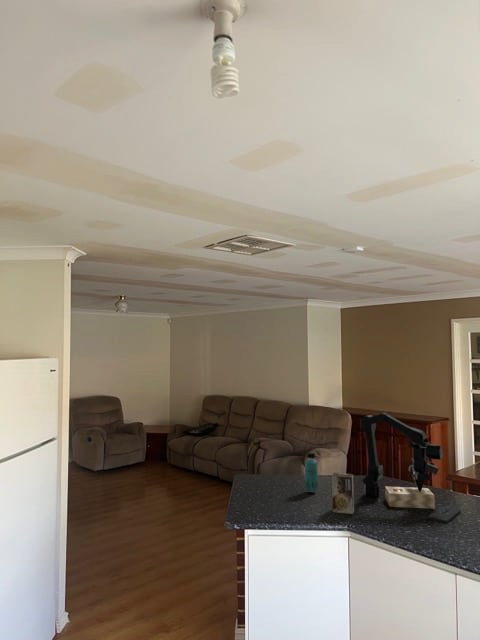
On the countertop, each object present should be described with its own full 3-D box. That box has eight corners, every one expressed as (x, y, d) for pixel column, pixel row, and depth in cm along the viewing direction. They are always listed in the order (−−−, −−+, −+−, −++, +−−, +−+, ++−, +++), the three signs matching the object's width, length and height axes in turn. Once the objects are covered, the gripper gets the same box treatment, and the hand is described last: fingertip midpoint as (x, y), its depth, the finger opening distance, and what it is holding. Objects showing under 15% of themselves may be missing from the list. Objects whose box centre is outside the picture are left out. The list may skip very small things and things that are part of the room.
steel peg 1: (395, 503, 221) (394, 491, 222) (393, 501, 225) (393, 489, 225) (403, 503, 221) (402, 491, 221) (401, 501, 224) (401, 489, 225)
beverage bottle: (303, 491, 242) (303, 451, 244) (316, 490, 243) (315, 451, 244) (306, 494, 236) (306, 454, 237) (319, 494, 236) (318, 454, 238)
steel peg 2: (417, 504, 220) (416, 492, 220) (415, 502, 223) (415, 490, 224) (425, 504, 219) (424, 492, 220) (423, 502, 223) (422, 490, 223)
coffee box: (354, 510, 212) (353, 473, 213) (353, 514, 206) (352, 477, 207) (334, 507, 215) (333, 472, 216) (332, 512, 209) (331, 475, 210)
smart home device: (461, 509, 210) (447, 520, 195) (461, 513, 210) (447, 525, 195) (442, 505, 216) (427, 516, 201) (442, 509, 215) (427, 520, 200)
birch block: (389, 506, 217) (389, 493, 218) (385, 498, 229) (385, 486, 230) (434, 508, 215) (434, 495, 215) (428, 500, 226) (427, 488, 227)
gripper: (442, 462, 213) (443, 497, 211) (431, 454, 231) (432, 486, 230) (416, 461, 214) (417, 496, 213) (408, 453, 233) (408, 485, 231)
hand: (419, 491), depth 222 cm, fingers closed
